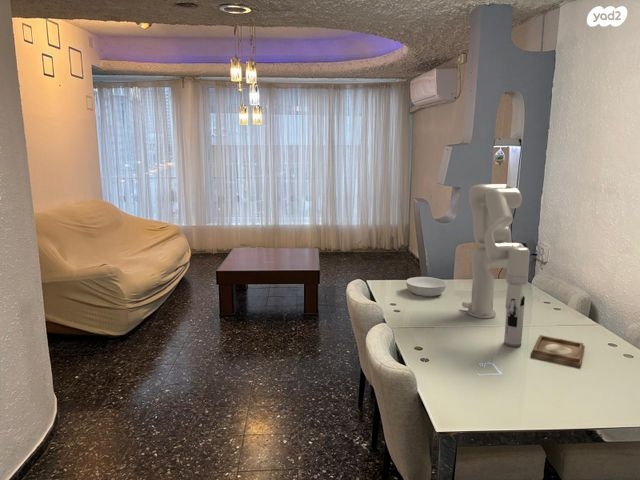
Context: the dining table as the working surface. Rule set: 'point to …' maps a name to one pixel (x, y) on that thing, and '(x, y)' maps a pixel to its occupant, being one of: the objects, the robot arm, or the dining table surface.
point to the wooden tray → (558, 351)
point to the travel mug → (514, 328)
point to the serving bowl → (426, 286)
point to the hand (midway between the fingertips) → (514, 323)
